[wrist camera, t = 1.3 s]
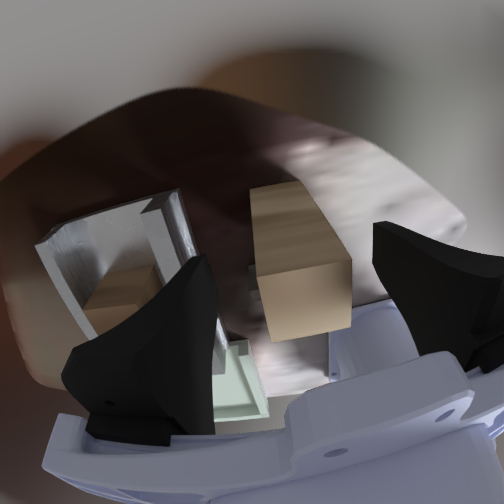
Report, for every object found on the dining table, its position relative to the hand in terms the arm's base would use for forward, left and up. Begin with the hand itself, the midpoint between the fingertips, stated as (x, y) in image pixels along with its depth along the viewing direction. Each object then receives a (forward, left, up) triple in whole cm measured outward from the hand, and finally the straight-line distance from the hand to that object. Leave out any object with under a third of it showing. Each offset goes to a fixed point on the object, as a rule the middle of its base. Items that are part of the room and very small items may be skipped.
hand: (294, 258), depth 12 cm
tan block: (-2, 0, -6) cm, 6 cm away
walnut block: (-4, +10, -5) cm, 12 cm away
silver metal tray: (-4, +10, -6) cm, 13 cm away
